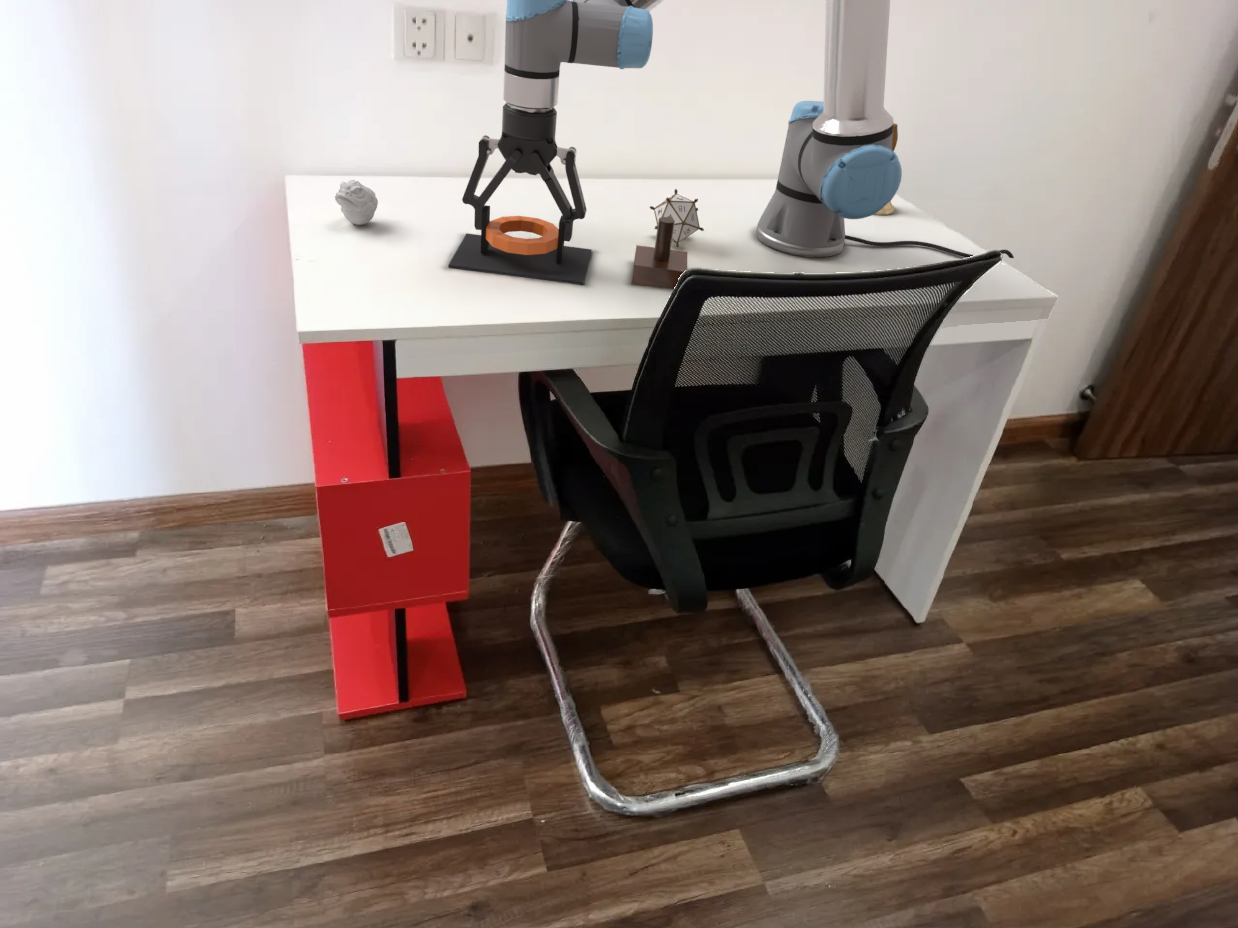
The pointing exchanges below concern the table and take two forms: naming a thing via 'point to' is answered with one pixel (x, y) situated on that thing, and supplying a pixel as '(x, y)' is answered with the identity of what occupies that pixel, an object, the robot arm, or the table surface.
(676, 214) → the game die
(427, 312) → the table surface
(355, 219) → the frog figurine
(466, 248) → the mat
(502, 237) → the ring
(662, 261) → the post
